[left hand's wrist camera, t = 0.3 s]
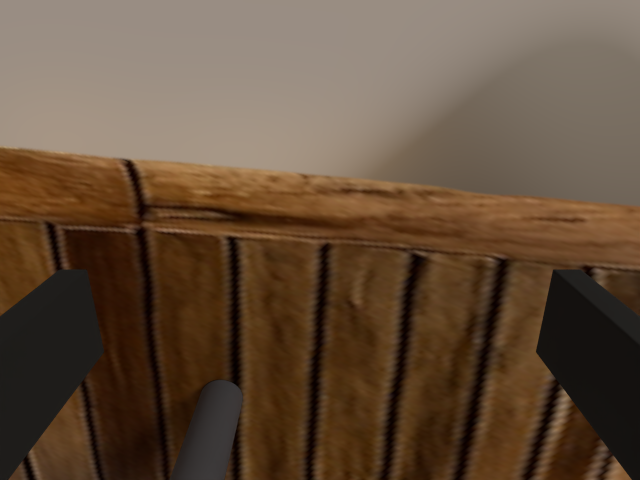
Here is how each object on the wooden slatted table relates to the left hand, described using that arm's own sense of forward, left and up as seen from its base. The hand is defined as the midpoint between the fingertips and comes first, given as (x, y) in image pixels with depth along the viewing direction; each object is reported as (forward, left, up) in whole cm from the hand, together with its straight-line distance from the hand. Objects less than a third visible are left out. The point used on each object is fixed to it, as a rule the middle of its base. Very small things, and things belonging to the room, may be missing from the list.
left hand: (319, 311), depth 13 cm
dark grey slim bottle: (-27, +11, -28) cm, 40 cm away
